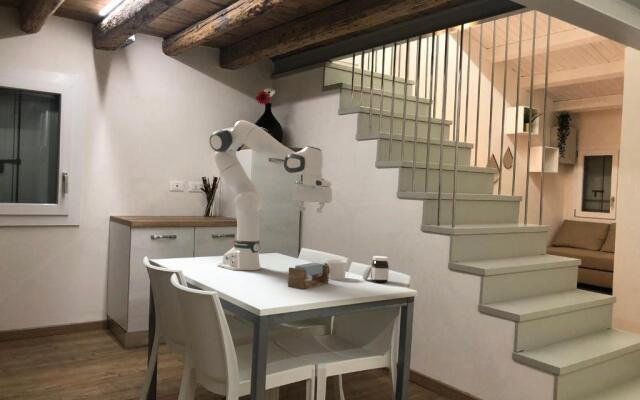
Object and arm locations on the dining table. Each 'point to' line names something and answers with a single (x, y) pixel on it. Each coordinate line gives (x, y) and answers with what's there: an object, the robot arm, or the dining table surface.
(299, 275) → the wooden u-shaped block
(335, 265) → the mug
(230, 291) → the dining table surface
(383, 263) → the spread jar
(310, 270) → the blue-grey block
